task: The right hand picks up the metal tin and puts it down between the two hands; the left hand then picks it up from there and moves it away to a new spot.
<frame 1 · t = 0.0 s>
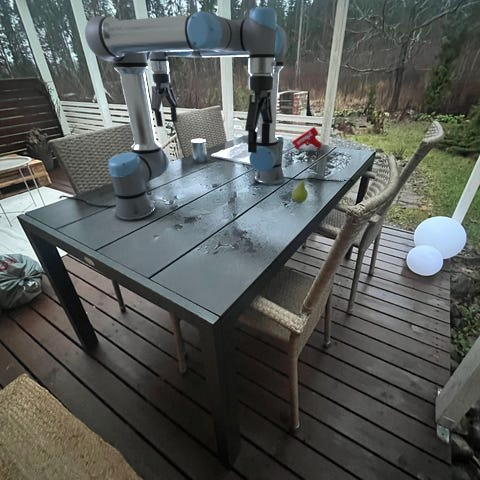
left hand: (259, 147, 93), 28 cm above the table, tool pointing down, fingers open, 13 cm apart
right hand: (167, 124, 132), 28 cm above the table, tool pointing down, fingers open, 13 cm apart
tin: (200, 161, 175), on the table
toy gun: (306, 148, 199), on the table
relief map: (243, 156, 184), on the table
fruit: (299, 202, 122), on the table
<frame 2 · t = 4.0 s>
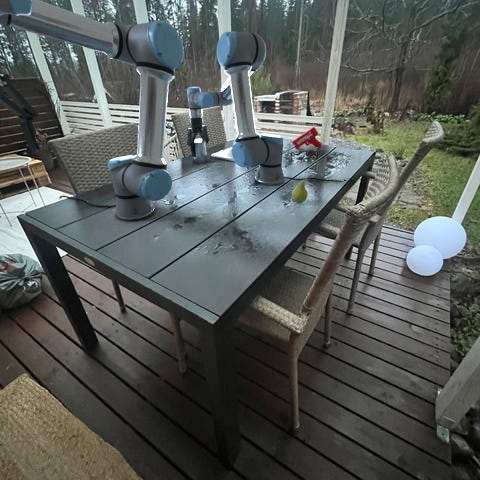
left hand: (7, 155, 65), 34 cm above the table, tool pointing down, fingers open, 13 cm apart
right hand: (199, 155, 173), 4 cm above the table, tool pointing down, fingers closed on tin, 9 cm apart
tin: (200, 161, 175), on the table, touching right hand
everything else where it was.
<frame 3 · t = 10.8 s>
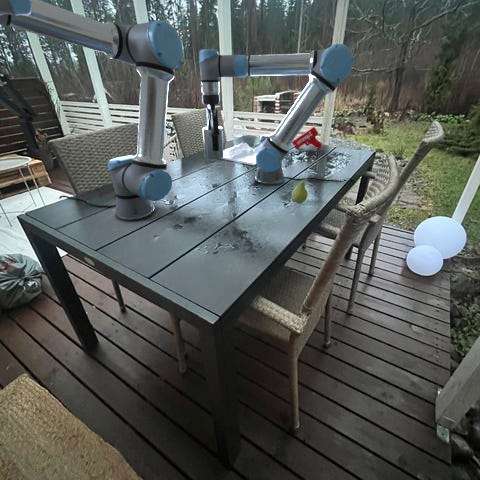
left hand: (7, 155, 65), 34 cm above the table, tool pointing down, fingers open, 13 cm apart
right hand: (213, 148, 127), 19 cm above the table, tool pointing down, fingers closed on tin, 9 cm apart
tin: (214, 156, 129), point 15 cm above the table, touching right hand
everything else where it was.
when the right hand's fingers open (6 cm above the table, at t = 17.9 s): tin drops 2 cm, on the table.
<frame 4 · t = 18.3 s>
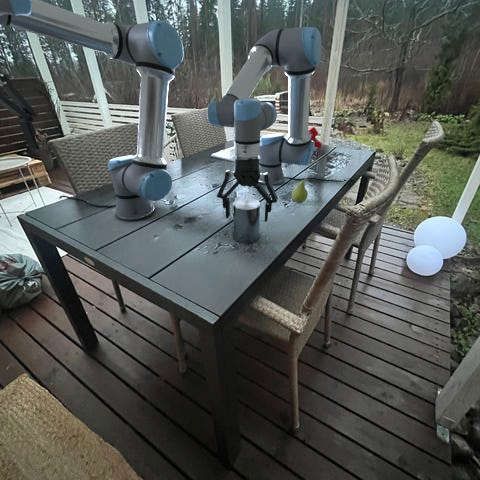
left hand: (7, 155, 65), 34 cm above the table, tool pointing down, fingers open, 13 cm apart
right hand: (246, 218, 94), 7 cm above the table, tool pointing down, fingers open, 13 cm apart
tin: (246, 236, 98), on the table
everything else where it was.
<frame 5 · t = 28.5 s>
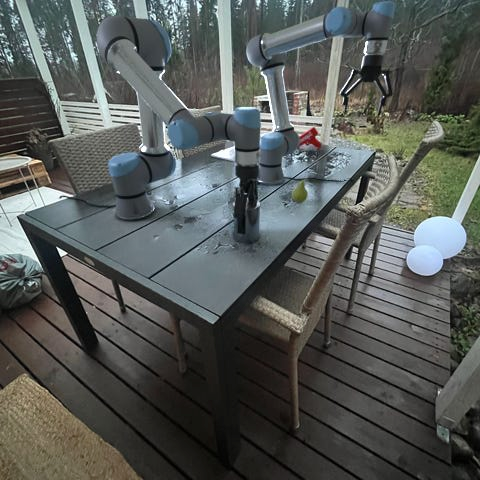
left hand: (246, 226, 96), 4 cm above the table, tool pointing down, fingers closed on tin, 9 cm apart
right hand: (361, 114, 116), 34 cm above the table, tool pointing down, fingers open, 13 cm apart
tin: (246, 236, 98), on the table, touching left hand
everything else where it was.
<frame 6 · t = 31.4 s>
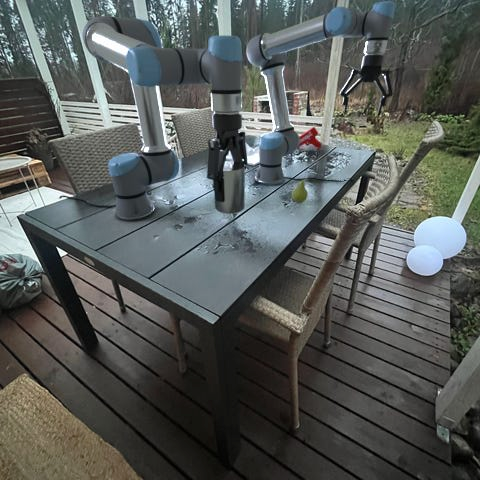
left hand: (229, 195, 81), 19 cm above the table, tool pointing down, fingers closed on tin, 9 cm apart
right hand: (361, 114, 116), 34 cm above the table, tool pointing down, fingers open, 13 cm apart
tin: (229, 207, 83), point 15 cm above the table, touching left hand
everything else where it was.
when the left hand's fingers open (6 cm above the table, at t = 34.8 s): tin drops 2 cm, on the table.
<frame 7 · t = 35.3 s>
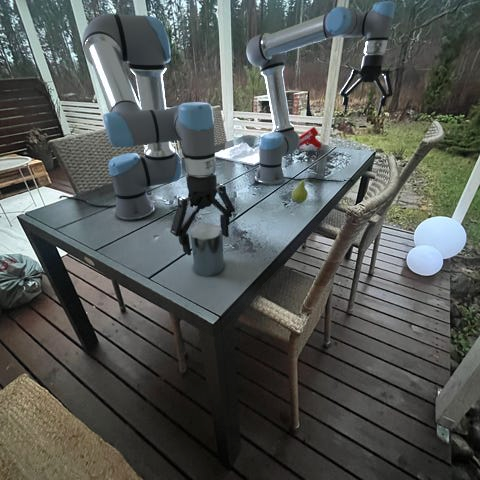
left hand: (206, 243, 79), 8 cm above the table, tool pointing down, fingers open, 13 cm apart
right hand: (361, 114, 116), 34 cm above the table, tool pointing down, fingers open, 13 cm apart
tin: (209, 266, 83), on the table
everything else where it was.
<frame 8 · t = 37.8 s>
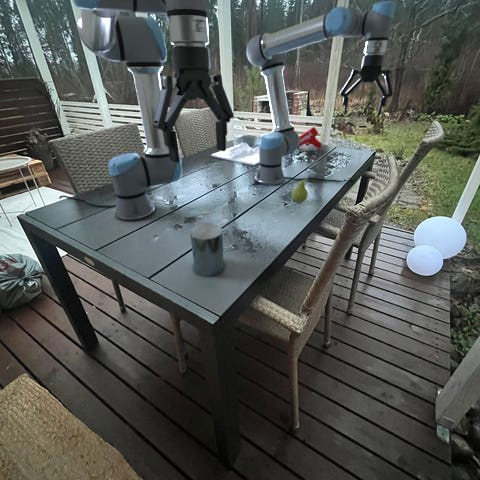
left hand: (199, 155, 65), 34 cm above the table, tool pointing down, fingers open, 13 cm apart
right hand: (361, 114, 116), 34 cm above the table, tool pointing down, fingers open, 13 cm apart
nothing on the table moved.
at the end: tin inside the target area (0.0 cm from its centre), on the table; tin tilted 0°; the two hands never held the tin at the same time; the left hand is holding nothing; the right hand is holding nothing; tin at rest at the end (0.0 cm/s) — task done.
